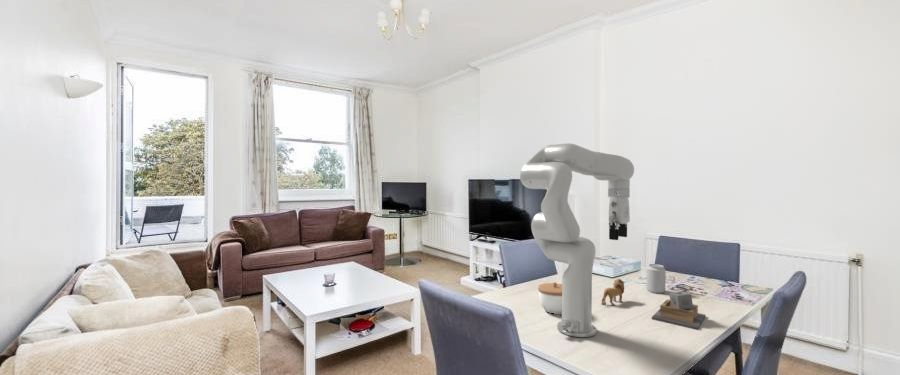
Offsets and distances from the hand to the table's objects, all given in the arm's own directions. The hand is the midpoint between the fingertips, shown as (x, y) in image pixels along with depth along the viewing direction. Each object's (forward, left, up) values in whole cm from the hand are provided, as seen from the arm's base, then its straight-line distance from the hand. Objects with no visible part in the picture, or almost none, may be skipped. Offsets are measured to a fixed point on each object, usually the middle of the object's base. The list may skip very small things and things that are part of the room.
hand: (618, 238), depth 143 cm
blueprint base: (+8, -19, -28) cm, 35 cm away
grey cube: (+8, -20, -24) cm, 32 cm away
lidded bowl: (-16, +18, -28) cm, 37 cm away
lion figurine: (+9, +5, -29) cm, 30 cm away
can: (+38, -4, -28) cm, 48 cm away
